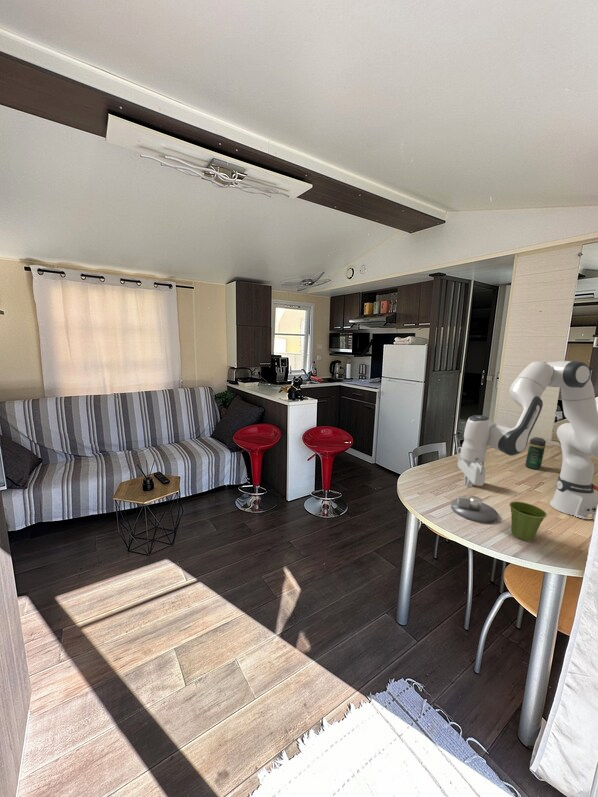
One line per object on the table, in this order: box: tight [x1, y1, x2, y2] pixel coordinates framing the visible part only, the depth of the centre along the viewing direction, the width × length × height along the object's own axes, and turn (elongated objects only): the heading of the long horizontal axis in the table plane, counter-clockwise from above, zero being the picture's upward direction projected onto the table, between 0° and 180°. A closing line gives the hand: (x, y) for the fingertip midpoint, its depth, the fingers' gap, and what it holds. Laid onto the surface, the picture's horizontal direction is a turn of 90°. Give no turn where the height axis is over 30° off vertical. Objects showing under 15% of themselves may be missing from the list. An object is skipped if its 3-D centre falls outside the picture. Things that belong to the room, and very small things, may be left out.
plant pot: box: [509, 501, 548, 542], centre depth 127 cm, size 12×12×11 cm
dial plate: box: [450, 498, 499, 524], centre depth 144 cm, size 18×18×2 cm
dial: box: [457, 495, 483, 511], centre depth 144 cm, size 10×5×4 cm, turn 82°
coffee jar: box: [524, 436, 547, 470], centre depth 202 cm, size 10×8×19 cm
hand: (467, 486), depth 137 cm, fingers closed
